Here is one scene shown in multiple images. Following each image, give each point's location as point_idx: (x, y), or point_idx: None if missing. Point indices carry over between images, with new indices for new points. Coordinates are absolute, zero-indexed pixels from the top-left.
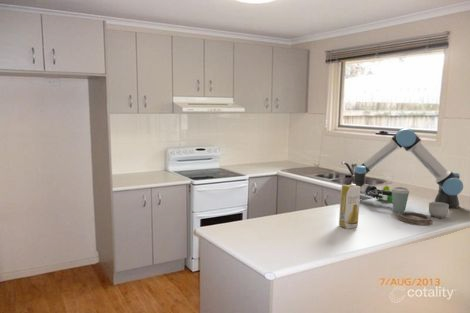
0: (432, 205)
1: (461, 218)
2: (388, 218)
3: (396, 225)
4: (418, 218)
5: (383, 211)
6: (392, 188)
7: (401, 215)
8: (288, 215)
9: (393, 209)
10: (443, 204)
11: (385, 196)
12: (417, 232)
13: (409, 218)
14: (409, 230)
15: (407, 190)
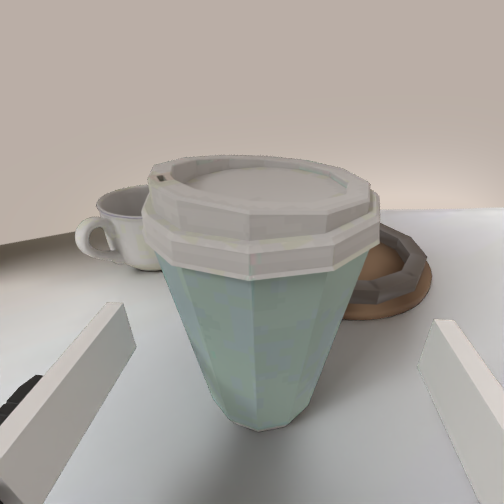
0: None
1: None
2: (493, 315)
3: (497, 253)
4: None
5: (437, 457)
6: (339, 207)
7: (416, 261)
8: None
9: (306, 405)
10: (108, 203)
11: (463, 345)
12: (442, 214)
13: (403, 235)
14: (463, 224)
15: (246, 156)
